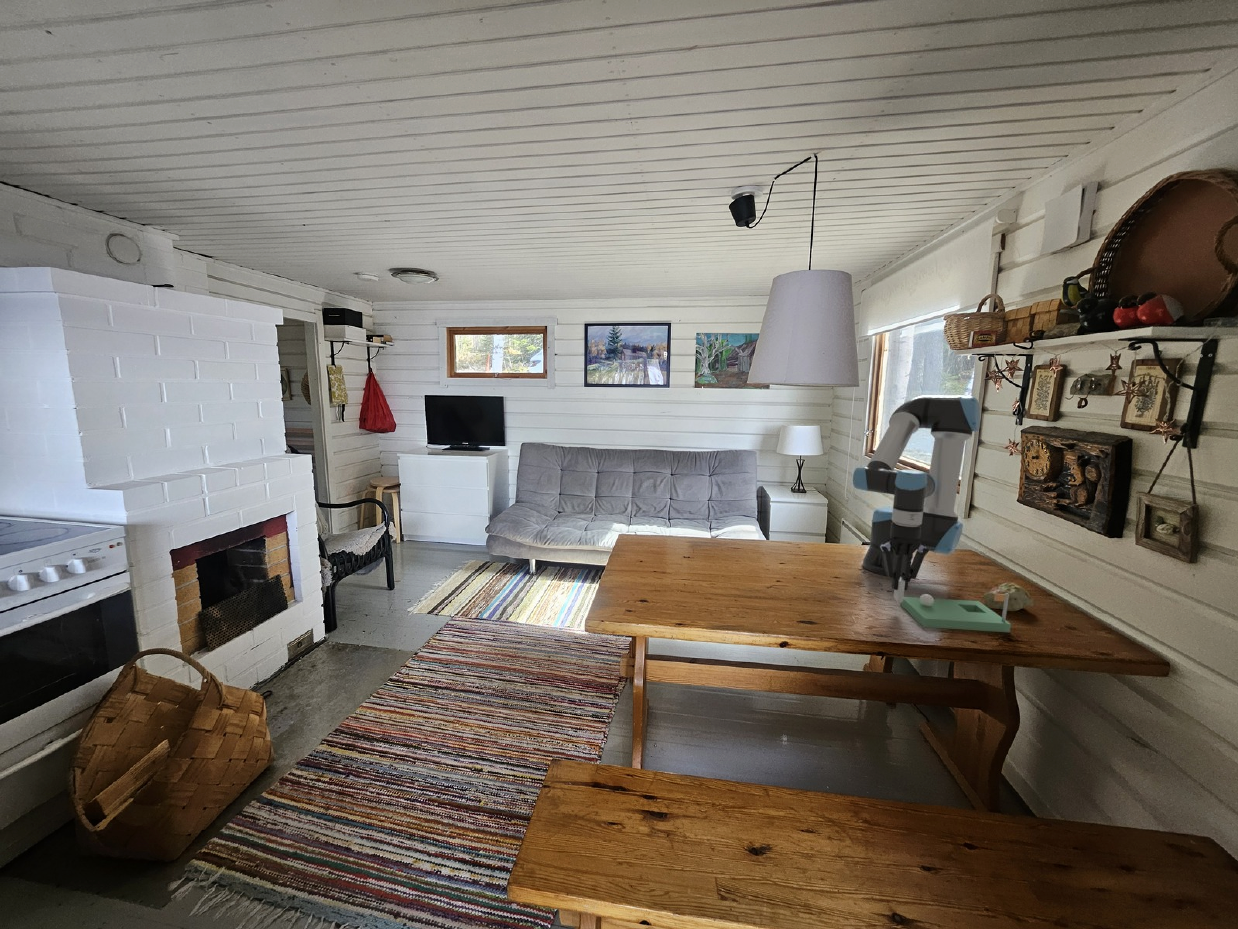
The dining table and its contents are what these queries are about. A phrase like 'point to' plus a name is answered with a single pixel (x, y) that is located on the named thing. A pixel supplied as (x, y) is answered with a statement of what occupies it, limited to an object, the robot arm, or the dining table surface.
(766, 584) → the dining table surface
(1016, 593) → the rock
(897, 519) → the robot arm
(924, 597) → the ball
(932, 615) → the green
